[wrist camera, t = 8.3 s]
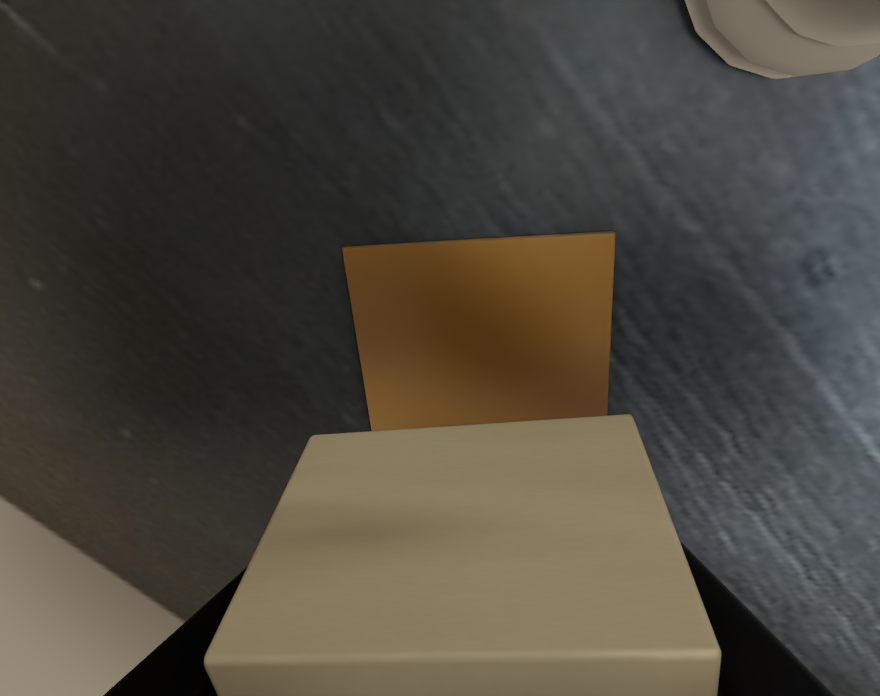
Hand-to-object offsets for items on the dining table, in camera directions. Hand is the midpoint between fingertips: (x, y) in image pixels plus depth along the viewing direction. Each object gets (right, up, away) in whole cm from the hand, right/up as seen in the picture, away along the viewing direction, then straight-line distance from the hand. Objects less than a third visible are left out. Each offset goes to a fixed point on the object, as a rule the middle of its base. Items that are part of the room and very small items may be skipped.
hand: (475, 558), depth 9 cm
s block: (0, 0, +1) cm, 2 cm away
